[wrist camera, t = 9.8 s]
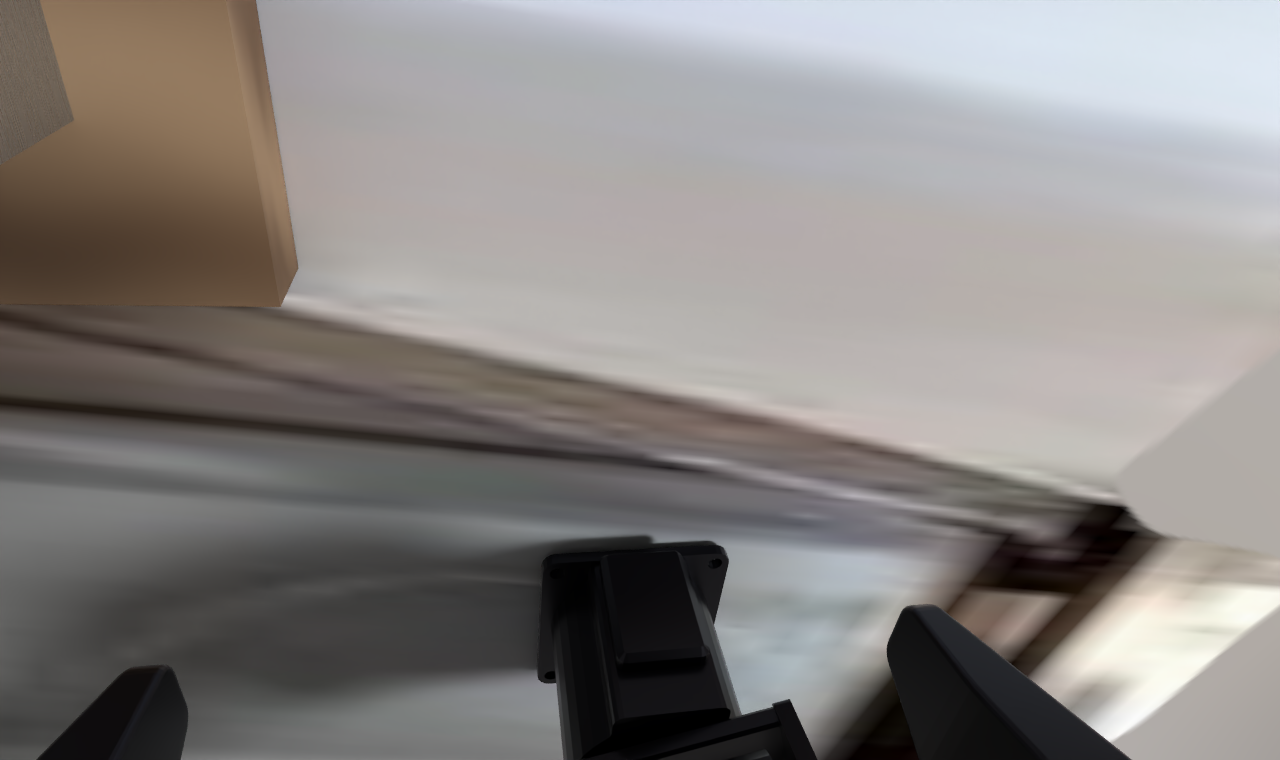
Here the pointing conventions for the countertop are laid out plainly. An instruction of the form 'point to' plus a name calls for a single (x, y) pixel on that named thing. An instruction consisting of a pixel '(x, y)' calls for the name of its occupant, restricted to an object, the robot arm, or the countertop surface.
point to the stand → (152, 165)
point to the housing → (28, 79)
